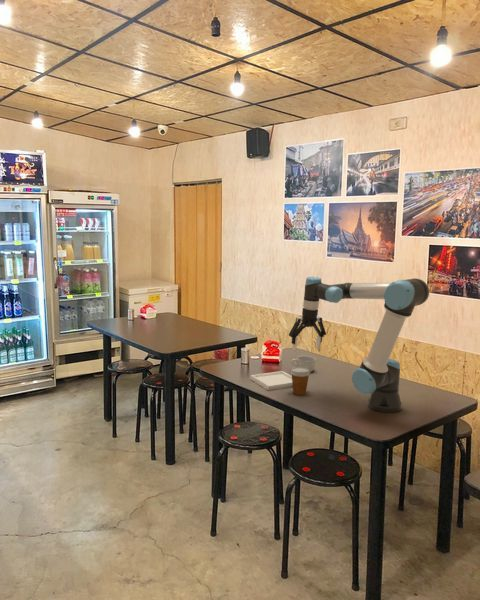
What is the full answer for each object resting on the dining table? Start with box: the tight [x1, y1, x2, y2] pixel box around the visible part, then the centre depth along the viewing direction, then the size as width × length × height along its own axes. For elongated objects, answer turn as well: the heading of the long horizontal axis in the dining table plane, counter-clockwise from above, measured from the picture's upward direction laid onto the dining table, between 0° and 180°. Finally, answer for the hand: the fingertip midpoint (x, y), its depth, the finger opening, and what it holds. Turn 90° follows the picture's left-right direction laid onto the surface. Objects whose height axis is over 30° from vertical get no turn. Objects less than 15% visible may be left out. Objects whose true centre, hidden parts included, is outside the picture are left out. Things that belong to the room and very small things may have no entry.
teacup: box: [290, 355, 317, 373], centre depth 292 cm, size 14×11×8 cm
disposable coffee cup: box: [290, 367, 311, 396], centre depth 255 cm, size 10×10×12 cm
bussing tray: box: [250, 370, 293, 392], centre depth 271 cm, size 20×20×2 cm
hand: (305, 349), depth 253 cm, fingers open, 13 cm apart
